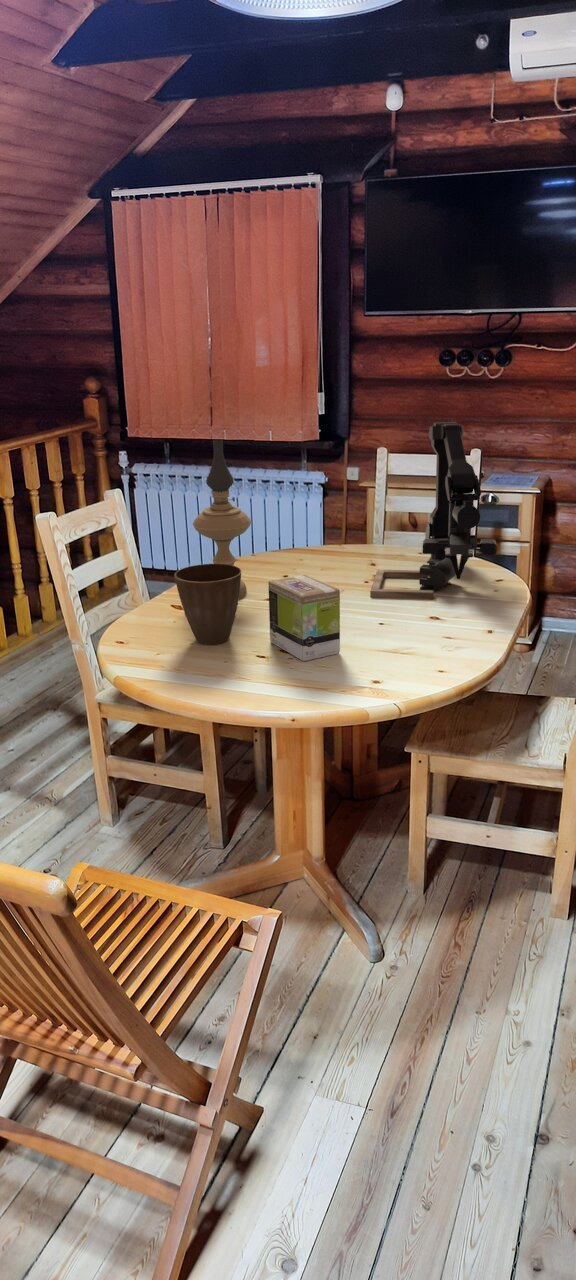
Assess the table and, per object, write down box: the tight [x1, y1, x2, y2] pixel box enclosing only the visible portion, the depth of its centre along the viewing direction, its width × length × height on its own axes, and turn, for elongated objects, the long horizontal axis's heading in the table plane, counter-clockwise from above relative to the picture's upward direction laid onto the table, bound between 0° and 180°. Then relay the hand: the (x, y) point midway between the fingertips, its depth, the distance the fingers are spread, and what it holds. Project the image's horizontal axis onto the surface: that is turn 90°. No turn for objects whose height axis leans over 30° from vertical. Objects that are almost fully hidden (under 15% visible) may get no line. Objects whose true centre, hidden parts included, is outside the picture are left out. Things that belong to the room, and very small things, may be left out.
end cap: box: [418, 558, 456, 592], centre depth 248 cm, size 10×7×7 cm
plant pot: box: [174, 563, 242, 646], centre depth 213 cm, size 15×15×16 cm
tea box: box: [268, 574, 341, 662], centre depth 206 cm, size 15×10×15 cm
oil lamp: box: [192, 439, 252, 599], centre depth 241 cm, size 15×15×40 cm
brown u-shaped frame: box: [369, 568, 435, 600], centre depth 250 cm, size 20×16×2 cm
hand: (458, 578), depth 246 cm, fingers closed
